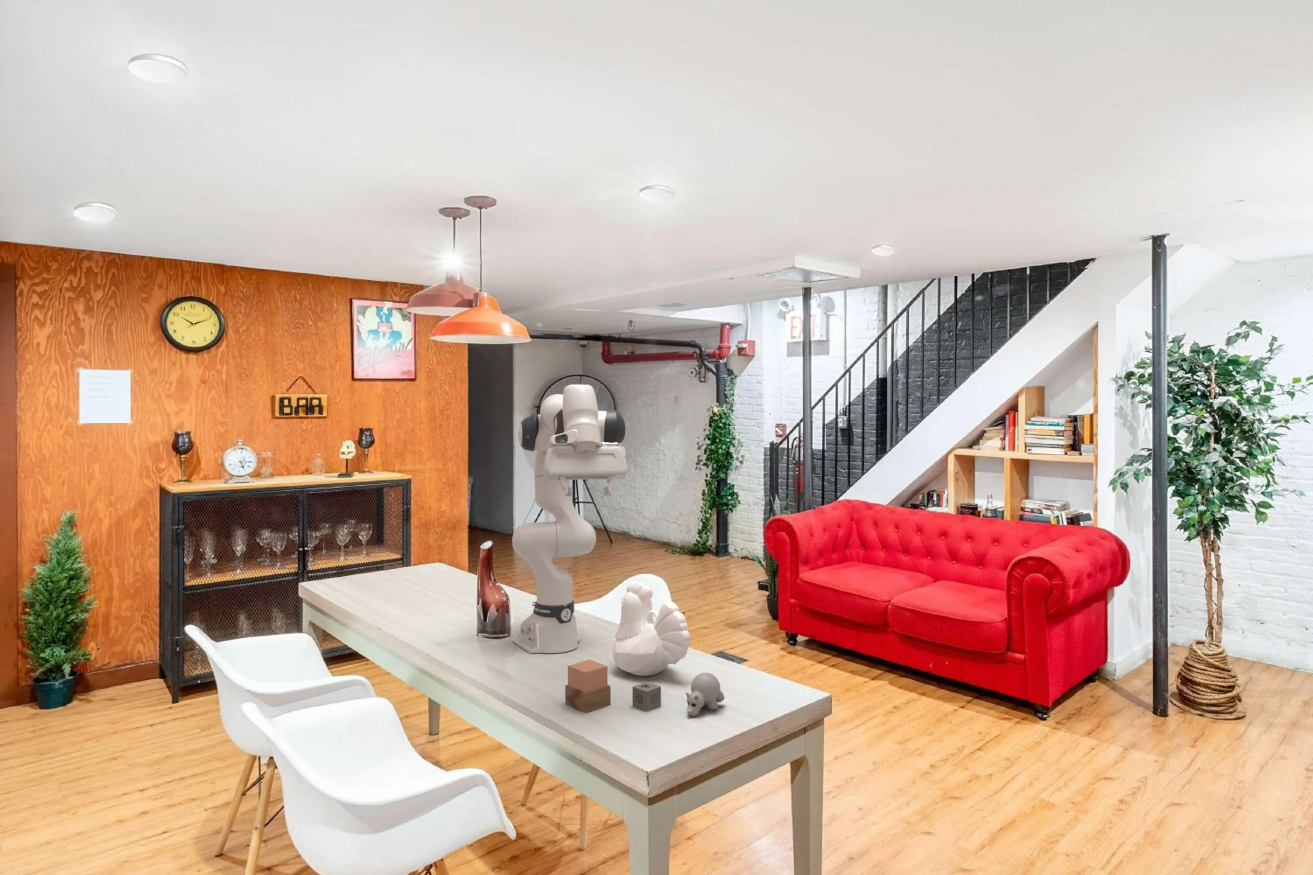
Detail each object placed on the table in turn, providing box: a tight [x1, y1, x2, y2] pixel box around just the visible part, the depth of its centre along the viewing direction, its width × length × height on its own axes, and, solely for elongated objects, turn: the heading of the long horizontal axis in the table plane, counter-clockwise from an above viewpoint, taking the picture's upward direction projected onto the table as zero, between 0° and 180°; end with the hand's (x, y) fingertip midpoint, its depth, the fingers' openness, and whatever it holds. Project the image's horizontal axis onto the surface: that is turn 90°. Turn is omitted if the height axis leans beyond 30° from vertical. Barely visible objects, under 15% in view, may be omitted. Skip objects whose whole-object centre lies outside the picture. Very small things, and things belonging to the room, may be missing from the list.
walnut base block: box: [564, 684, 612, 714], centre depth 190 cm, size 8×8×5 cm
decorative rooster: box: [612, 581, 691, 677], centre depth 211 cm, size 25×16×25 cm, turn 35°
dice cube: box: [631, 681, 662, 713], centre depth 189 cm, size 5×5×5 cm
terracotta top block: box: [567, 659, 609, 693], centre depth 190 cm, size 7×7×5 cm
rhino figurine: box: [685, 672, 725, 717], centre depth 186 cm, size 7×12×8 cm, turn 140°
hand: (588, 495), depth 181 cm, fingers open, 8 cm apart
